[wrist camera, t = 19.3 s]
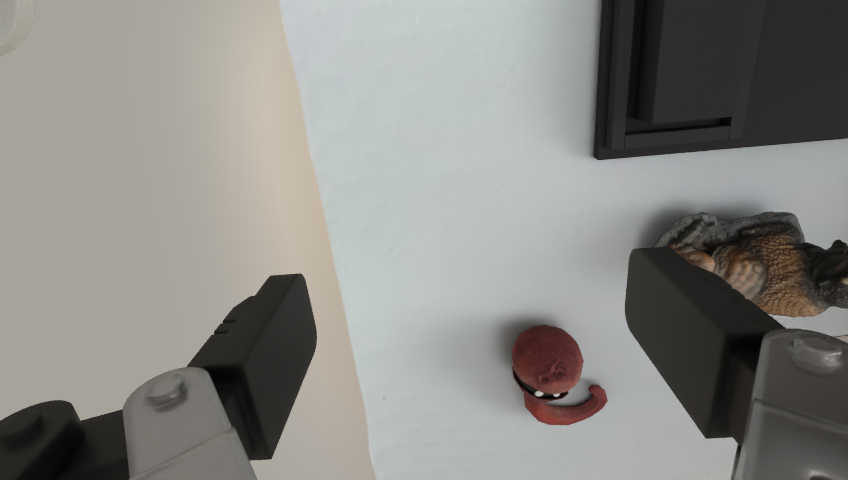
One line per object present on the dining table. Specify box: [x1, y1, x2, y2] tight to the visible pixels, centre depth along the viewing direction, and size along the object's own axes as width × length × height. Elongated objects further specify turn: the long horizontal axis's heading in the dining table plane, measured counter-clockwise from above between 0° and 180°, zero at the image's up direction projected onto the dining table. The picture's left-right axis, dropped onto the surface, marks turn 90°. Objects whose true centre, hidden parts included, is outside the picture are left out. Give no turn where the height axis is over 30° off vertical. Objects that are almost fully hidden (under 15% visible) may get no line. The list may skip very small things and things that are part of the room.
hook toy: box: [512, 325, 607, 425], centre depth 42 cm, size 11×6×12 cm
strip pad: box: [634, 0, 753, 124], centre depth 30 cm, size 12×6×3 cm, turn 5°
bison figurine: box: [654, 212, 848, 317], centre depth 33 cm, size 12×7×10 cm, turn 98°
